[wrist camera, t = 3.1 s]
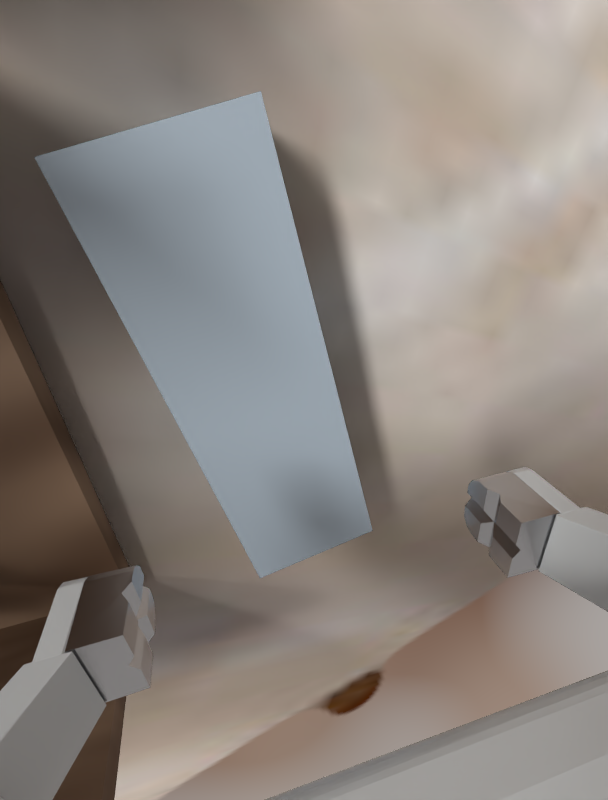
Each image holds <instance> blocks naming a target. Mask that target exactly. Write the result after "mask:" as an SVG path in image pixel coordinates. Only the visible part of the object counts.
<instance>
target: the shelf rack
mask: <svg viewBox="0 0 608 800" xmlns="http://www.w3.org/2000/svg"><path fill="white" fill-rule="evenodd" d="M127 567H129V566H128V563H127V561H126V559H125V557H124V554H123V552H122V550H121V548H120V545H119V543H118V541H117V539H116V537H115V534H114V532H113V530H112V528H111V525H110V523H109V521H108V519H107V517H106V514H105V512H104V510H103V508H102V505H101V503H100V501H99V499H98V497H97V494H96V492H95V490H94V488H93V485H92V483H91V481H90V479H89V476H88V474H87V472H86V470H85V468H84V465H83V463H82V461H81V459H80V456H79V454H78V452H77V450H76V448H75V445H74V443H73V441H72V439H71V436H70V434H69V432H68V430H67V428H66V425H65V423H64V421H63V419H62V416H61V414H60V412H59V410H58V408H57V405H56V403H55V401H54V399H53V396H52V394H51V392H50V390H49V387H48V385H47V383H46V381H45V379H44V376H43V374H42V372H41V370H40V367H39V365H38V363H37V361H36V359H35V356H34V354H33V352H32V350H31V347H30V345H29V343H28V341H27V339H26V336H25V334H24V332H23V330H22V327H21V325H20V323H19V321H18V319H17V316H16V314H15V312H14V310H13V307H12V305H11V303H10V301H9V298H8V296H7V294H6V292H5V290H4V287H3V285H2V283H1V281H0V691H1V689H2V688H3V687H4V686H5V685H6V684H7V683H8V682H9V680H10V679H11V678H12V677H13V676H14V675H15V674H16V673H17V672H18V670H19V669H20V668H21V667H22V666H23V665H24V664H28V663H31V662H32V661H33V658H34V655H35V652H36V649H37V646H38V644H39V641H40V638H41V635H42V632H43V629H44V626H45V623H46V620H47V618H48V615H49V612H50V609H51V606H52V603H53V600H54V597H55V594H56V592H57V589H58V588H59V587H60V586H61V584H62V583H63V582H67V581H71V580H75V579H80V578H84V577H88V576H91V575H96V574H100V573H104V572H109V571H113V570H118V569H122V568H127ZM125 702H126V696H124V697H121V698H118V699H115V700H112V701H109V702H106V707H105V709H104V710H103V712H102V714H101V716H100V717H99V719H98V721H97V723H96V724H95V726H94V728H93V730H92V731H91V733H90V735H89V737H88V738H87V740H86V742H85V744H84V745H83V747H82V749H81V751H80V752H79V754H78V756H77V758H76V759H75V761H74V763H73V765H72V766H71V768H70V770H69V772H68V773H67V775H66V777H65V779H64V780H63V782H62V784H61V786H60V787H59V789H58V791H57V793H56V794H55V796H54V798H53V800H114V797H115V788H116V780H117V771H118V762H119V754H120V745H121V736H122V728H123V719H124V710H125Z"/></svg>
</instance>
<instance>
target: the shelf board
mask: <svg viewBox="0 0 608 800" xmlns="http://www.w3.org/2000/svg"><path fill="white" fill-rule="evenodd" d="M34 158H35V160H36V162H37V163H38V165H39V167H40V169H41V171H42V173H43V175H44V176H45V178H46V180H47V182H48V184H49V186H50V188H51V189H52V191H53V193H54V195H55V197H56V199H57V201H58V203H59V204H60V206H61V208H62V210H63V212H64V214H65V216H66V217H67V219H68V221H69V223H70V225H71V227H72V229H73V230H74V232H75V234H76V236H77V238H78V240H79V242H80V244H81V245H82V247H83V249H84V251H85V253H86V255H87V257H88V258H89V260H90V262H91V264H92V266H93V268H94V270H95V271H96V273H97V275H98V277H99V279H100V281H101V283H102V285H103V286H104V288H105V290H106V292H107V294H108V296H109V298H110V299H111V301H112V303H113V305H114V307H115V309H116V311H117V312H118V314H119V316H120V318H121V320H122V322H123V324H124V326H125V327H126V329H127V331H128V333H129V335H130V337H131V339H132V340H133V342H134V344H135V346H136V348H137V350H138V352H139V353H140V355H141V357H142V359H143V361H144V363H145V365H146V367H147V368H148V370H149V372H150V374H151V376H152V378H153V380H154V381H155V383H156V385H157V387H158V389H159V391H160V393H161V394H162V396H163V398H164V400H165V402H166V404H167V406H168V408H169V409H170V411H171V413H172V415H173V417H174V419H175V421H176V422H177V424H178V426H179V428H180V430H181V432H182V434H183V435H184V437H185V439H186V441H187V443H188V445H189V447H190V449H191V450H192V452H193V454H194V456H195V458H196V460H197V462H198V463H199V465H200V467H201V469H202V471H203V473H204V475H205V476H206V478H207V480H208V482H209V484H210V486H211V488H212V490H213V491H214V493H215V495H216V497H217V499H218V501H219V503H220V504H221V506H222V508H223V510H224V512H225V514H226V516H227V517H228V519H229V521H230V523H231V525H232V527H233V529H234V531H235V532H236V534H237V536H238V538H239V540H240V542H241V544H242V545H243V547H244V549H245V551H246V553H247V555H248V557H249V558H250V560H251V562H252V564H253V566H254V568H255V570H256V572H257V573H258V575H259V577H260V578H262V577H264V576H267V575H269V574H271V573H274V572H276V571H278V570H281V569H283V568H285V567H288V566H290V565H293V564H295V563H297V562H300V561H302V560H304V559H307V558H309V557H312V556H314V555H316V554H319V553H321V552H323V551H326V550H328V549H330V548H333V547H335V546H338V545H340V544H342V543H345V542H347V541H349V540H352V539H354V538H357V537H359V536H361V535H364V534H366V533H368V532H371V531H373V530H372V526H371V522H370V518H369V514H368V511H367V507H366V503H365V499H364V495H363V491H362V487H361V483H360V479H359V475H358V471H357V467H356V463H355V459H354V456H353V452H352V448H351V444H350V440H349V436H348V432H347V428H346V424H345V420H344V416H343V412H342V408H341V404H340V401H339V397H338V393H337V389H336V385H335V381H334V377H333V373H332V369H331V365H330V361H329V357H328V353H327V349H326V345H325V342H324V338H323V334H322V330H321V326H320V322H319V318H318V314H317V310H316V306H315V302H314V298H313V294H312V290H311V287H310V283H309V279H308V275H307V271H306V267H305V263H304V259H303V255H302V251H301V247H300V243H299V239H298V235H297V231H296V228H295V224H294V220H293V216H292V212H291V208H290V204H289V200H288V196H287V192H286V188H285V184H284V180H283V176H282V173H281V169H280V165H279V161H278V157H277V153H276V149H275V145H274V141H273V137H272V133H271V129H270V125H269V121H268V118H267V114H266V110H265V106H264V102H263V98H262V94H261V91H260V92H256V93H253V94H249V95H246V96H242V97H239V98H235V99H232V100H229V101H225V102H222V103H218V104H215V105H211V106H208V107H205V108H201V109H198V110H194V111H191V112H187V113H184V114H180V115H177V116H174V117H170V118H167V119H163V120H160V121H156V122H153V123H150V124H146V125H143V126H139V127H136V128H132V129H129V130H125V131H122V132H119V133H115V134H112V135H108V136H105V137H101V138H98V139H94V140H91V141H88V142H84V143H81V144H77V145H74V146H70V147H67V148H64V149H60V150H57V151H53V152H50V153H46V154H43V155H39V156H36V157H34Z"/></svg>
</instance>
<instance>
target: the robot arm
mask: <svg viewBox="0 0 608 800" xmlns="http://www.w3.org/2000/svg"><path fill="white" fill-rule="evenodd" d="M467 493H468V494H469V495H470V496H471V497H472V498H471V499H470V500H469V502H468V503H467V504H466V505H465V513H464V516H465V520H466V524H467V527H468V529H469V531H470V532H471V534H472V535H473V537H474V538H475V539H476V540H477V542H479V543H481V544H483V545H486V546H488V547H489V556H490V557H491V559H492V560H493V561H494V562H495V563H496V565H497V566H498V567H499V568H500V569H501V571H502V572H503V573H504V574H505V575H506V577H507V578H508V577H512V576H516V575H519V574H522V573H526V572H530V571H534V570H537V569H539V572H541V573H543V574H544V575H546V576H548V577H550V578H551V579H553V580H555V581H556V582H558V583H560V584H561V585H563V586H565V587H567V588H568V589H570V590H572V591H573V592H575V593H577V594H579V595H580V596H582V597H584V598H586V599H587V600H589V601H591V602H593V603H594V604H596V605H597V606H599V607H601V608H603V609H604V610H606V611H608V514H605V513H602V512H599V511H596V510H594V509H591V508H588V507H582V508H580V507H578V506H577V505H576V504H575V503H573V502H572V501H571V500H570V499H568V498H567V497H566V496H565V495H563V494H562V493H561V492H560V491H558V490H557V489H556V488H554V487H553V486H552V485H551V484H549V483H548V482H547V481H546V480H544V479H543V478H542V477H541V476H539V475H538V474H537V473H536V472H534V471H533V470H532V469H530V468H527V467H522V468H518V469H514V470H510V471H507V472H502V473H498V474H494V475H491V476H487V477H483V478H479V479H475V480H472V481H471V483H470V484H469V487H468V492H467ZM143 581H144V574H143V572H142V570H141V568H140V566H138V565H135V566H131V567H127V568H122V569H118V570H113V571H109V572H104V573H100V574H96V575H91V576H88V577H84V578H80V579H75V580H71V581H67V582H63V583H62V584H61V586H60V587H59V588H58V589H57V592H56V594H55V597H54V600H53V603H52V606H51V609H50V612H49V615H48V618H47V620H46V623H45V626H44V629H43V632H42V635H41V638H40V641H39V644H38V646H37V649H36V652H35V655H34V658H33V661H32V662H31V663H28V664H24V665H23V666H22V667H21V668H20V669H19V670H18V672H17V673H16V674H15V675H14V676H13V677H12V678H11V679H10V680H9V682H8V683H7V684H6V685H5V686H4V687H3V688H2V689H1V691H0V800H53V798H54V796H55V794H56V793H57V791H58V789H59V787H60V786H61V784H62V782H63V780H64V779H65V777H66V775H67V773H68V772H69V770H70V768H71V766H72V765H73V763H74V761H75V759H76V758H77V756H78V754H79V752H80V751H81V749H82V747H83V745H84V744H85V742H86V740H87V738H88V737H89V735H90V733H91V731H92V730H93V728H94V726H95V724H96V723H97V721H98V719H99V717H100V716H101V714H102V712H103V710H104V709H105V707H106V702H109V701H112V700H115V699H118V698H121V697H124V696H127V695H130V694H132V693H135V692H138V691H141V690H144V689H147V688H150V683H151V672H152V661H153V653H152V651H151V648H150V646H149V644H148V643H149V641H150V640H151V638H152V637H153V635H154V634H155V624H156V616H155V604H154V600H153V596H152V593H151V591H150V589H149V588H147V587H145V586H143ZM265 800H608V671H605V672H603V673H600V674H597V675H595V676H592V677H589V678H587V679H584V680H581V681H579V682H576V683H573V684H571V685H568V686H565V687H563V688H560V689H557V690H555V691H552V692H549V693H547V694H544V695H541V696H539V697H536V698H534V699H531V700H528V701H525V702H523V703H520V704H518V705H515V706H512V707H510V708H507V709H504V710H502V711H499V712H496V713H494V714H491V715H488V716H486V717H483V718H480V719H478V720H475V721H473V722H470V723H467V724H464V725H462V726H459V727H456V728H454V729H451V730H448V731H446V732H443V733H440V734H438V735H435V736H433V737H430V738H427V739H424V740H422V741H419V742H417V743H414V744H412V745H409V746H406V747H403V748H401V749H398V750H395V751H393V752H390V753H387V754H385V755H382V756H379V757H377V758H374V759H371V760H369V761H366V762H363V763H361V764H358V765H355V766H353V767H350V768H347V769H345V770H342V771H339V772H337V773H334V774H331V775H329V776H326V777H324V778H321V779H318V780H316V781H313V782H310V783H308V784H305V785H302V786H300V787H297V788H294V789H292V790H289V791H287V792H284V793H281V794H279V795H276V796H273V797H270V798H268V799H265Z"/></svg>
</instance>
